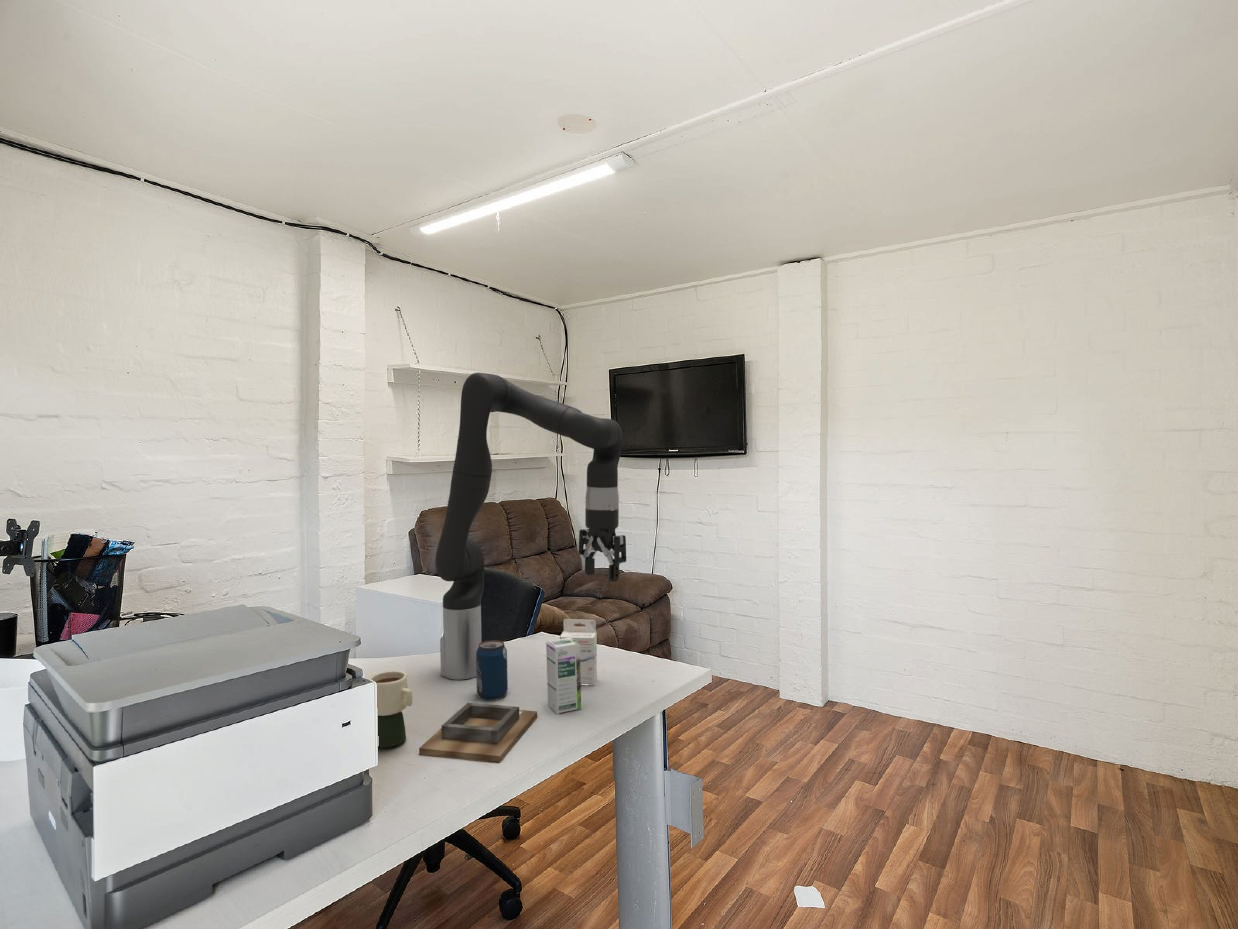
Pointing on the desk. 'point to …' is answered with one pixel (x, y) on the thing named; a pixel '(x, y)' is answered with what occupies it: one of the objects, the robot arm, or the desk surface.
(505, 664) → the soda can
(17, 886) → the desk surface
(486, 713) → the base board
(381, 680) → the character mug
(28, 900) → the desk surface
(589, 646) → the ink cartridge box
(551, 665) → the syrup box
